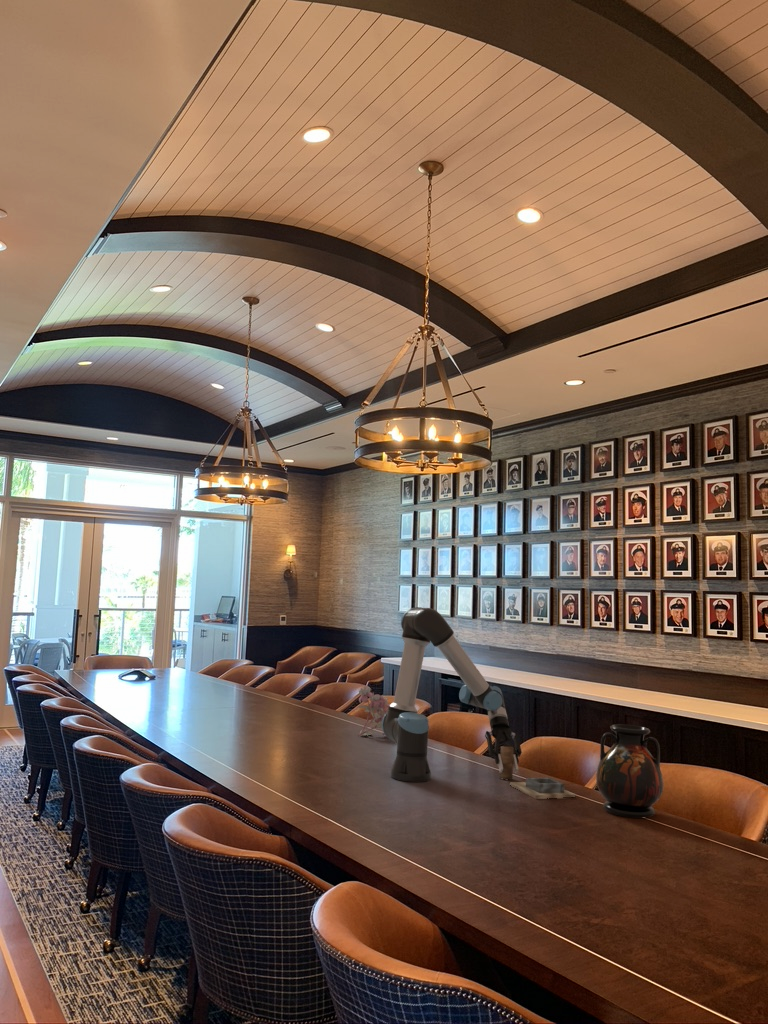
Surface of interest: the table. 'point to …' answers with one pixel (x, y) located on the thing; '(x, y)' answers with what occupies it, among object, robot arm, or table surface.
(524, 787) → the maple board
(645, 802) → the amphora vase
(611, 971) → the table surface
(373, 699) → the flower
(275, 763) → the table surface
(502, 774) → the walnut peg
